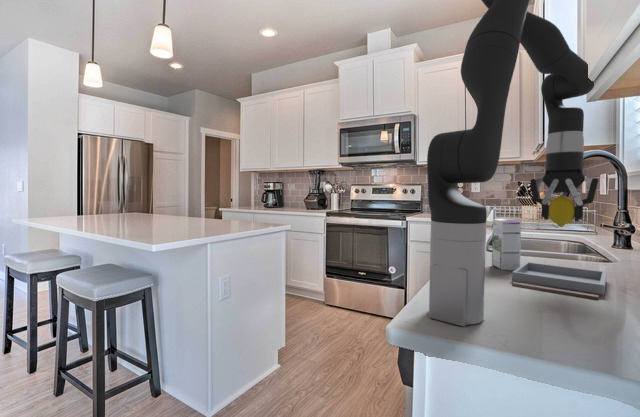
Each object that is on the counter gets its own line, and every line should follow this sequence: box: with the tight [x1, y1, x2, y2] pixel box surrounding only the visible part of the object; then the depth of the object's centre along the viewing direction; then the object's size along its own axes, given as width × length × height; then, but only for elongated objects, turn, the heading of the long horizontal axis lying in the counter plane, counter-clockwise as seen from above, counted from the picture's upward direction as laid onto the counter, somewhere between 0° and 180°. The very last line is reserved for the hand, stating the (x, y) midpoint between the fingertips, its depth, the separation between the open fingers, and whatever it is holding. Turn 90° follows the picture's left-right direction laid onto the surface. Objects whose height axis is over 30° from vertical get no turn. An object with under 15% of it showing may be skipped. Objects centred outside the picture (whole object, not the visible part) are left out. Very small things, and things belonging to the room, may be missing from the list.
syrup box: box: [491, 217, 522, 271], centre depth 100 cm, size 6×6×14 cm
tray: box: [511, 261, 608, 297], centre depth 85 cm, size 16×18×2 cm
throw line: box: [511, 282, 600, 301], centre depth 77 cm, size 2×16×1 cm, turn 49°
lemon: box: [548, 194, 576, 228], centre depth 84 cm, size 6×6×8 cm
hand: (561, 220), depth 84 cm, fingers closed on lemon, 5 cm apart
